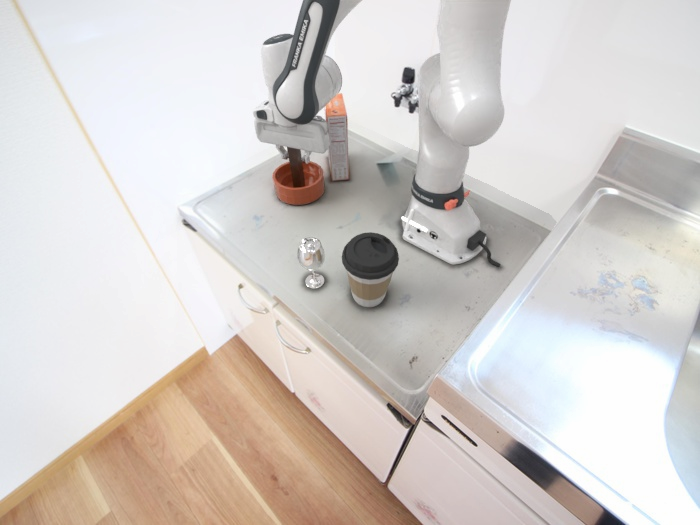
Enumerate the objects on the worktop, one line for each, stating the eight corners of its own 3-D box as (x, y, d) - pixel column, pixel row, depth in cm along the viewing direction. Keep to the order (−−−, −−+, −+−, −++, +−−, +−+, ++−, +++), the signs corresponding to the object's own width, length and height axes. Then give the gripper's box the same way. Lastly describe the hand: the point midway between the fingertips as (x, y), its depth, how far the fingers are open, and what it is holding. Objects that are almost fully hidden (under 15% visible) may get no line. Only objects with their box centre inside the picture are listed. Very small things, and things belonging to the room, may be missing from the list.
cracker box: (327, 157, 115) (322, 93, 99) (345, 156, 115) (343, 92, 100) (330, 181, 106) (325, 115, 90) (349, 180, 106) (348, 113, 90)
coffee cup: (404, 300, 76) (412, 254, 65) (361, 324, 72) (362, 280, 61) (374, 267, 82) (377, 221, 71) (334, 288, 78) (330, 242, 67)
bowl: (334, 192, 102) (333, 175, 98) (293, 213, 96) (290, 196, 92) (306, 171, 110) (304, 154, 105) (267, 189, 104) (263, 172, 99)
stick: (305, 187, 103) (299, 138, 91) (301, 192, 101) (294, 143, 89) (297, 186, 103) (290, 136, 91) (294, 191, 102) (285, 141, 90)
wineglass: (299, 276, 81) (292, 240, 72) (322, 268, 82) (318, 232, 73) (307, 294, 77) (300, 258, 68) (330, 286, 79) (327, 250, 70)
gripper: (332, 111, 84) (334, 161, 95) (259, 100, 89) (269, 148, 99) (321, 123, 80) (325, 173, 91) (246, 110, 85) (258, 159, 96)
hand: (295, 160), depth 95 cm, fingers open, 5 cm apart
